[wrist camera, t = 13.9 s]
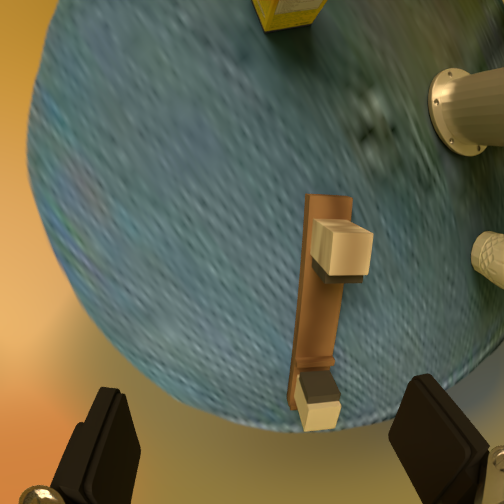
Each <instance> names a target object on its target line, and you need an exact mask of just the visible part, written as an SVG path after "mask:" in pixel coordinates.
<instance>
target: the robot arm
mask: <svg viewBox="0 0 504 504" xmlns="http://www.w3.org/2000/svg"><path fill="white" fill-rule="evenodd" d="M428 106H429V113H430V117H431V121H432V123H433V126H434V128H435V131H436V132H437V134H438V136H439V138H440V139H441V140H442V142H443V143H444V144H445V145H446V146H447V147H448V148H449V149H450V150H452V151H453V152H455V153H456V154H459V155H462V156H475V155H478V154H480V153H481V152H483V151H484V150H485V148H486V147H487V146H504V67H503V68H498V69H493V70H489V71H484V72H480V73H476V74H472V75H470V74H469V73H467V72H466V71H464V70H461V69H457V68H450V69H446V70H444V71H441V72H440V73H438V74H437V75H436V76H435V78H434V79H433V81H432V83H431V85H430V88H429V94H428ZM388 436H389V441H390V443H391V445H392V447H393V449H394V450H395V452H396V454H397V456H398V458H399V460H400V462H401V463H402V465H403V467H404V469H405V471H406V473H407V475H408V476H409V478H410V480H411V482H412V484H413V486H414V487H415V489H416V492H417V494H418V495H419V497H420V499H421V501H422V503H423V504H504V446H497V447H495V448H493V449H492V450H491V452H489V451H488V448H489V447H490V445H489V444H488V443H487V441H486V440H485V439H484V438H483V437H482V435H481V434H480V433H479V431H478V430H477V429H476V428H475V427H474V425H473V424H472V423H471V422H470V420H469V419H468V418H467V417H466V415H465V414H464V413H463V412H462V411H461V409H460V408H459V407H458V406H457V405H456V403H455V402H454V401H453V400H452V399H451V397H450V396H449V395H448V394H447V393H446V392H445V390H444V389H443V388H442V387H441V386H440V385H439V383H438V382H437V381H436V380H435V379H434V378H433V376H432V375H430V374H428V373H427V374H423V375H418V376H414V377H413V378H412V380H411V381H410V382H409V383H408V385H407V388H406V391H405V393H404V396H403V399H402V401H401V404H400V407H399V409H398V412H397V414H396V416H395V419H394V421H393V424H392V426H391V428H390V431H389V434H388ZM140 454H141V449H140V444H139V441H138V438H137V435H136V431H135V428H134V424H133V421H132V417H131V414H130V410H129V406H128V403H127V399H126V396H125V394H121V393H120V390H119V389H116V388H107V387H101V388H100V389H99V391H98V393H97V395H96V398H95V400H94V402H93V404H92V406H91V409H90V411H89V413H88V416H87V418H86V420H85V422H84V423H83V422H79V423H78V424H77V425H76V427H75V429H74V431H73V433H72V436H71V438H70V440H69V442H68V445H67V447H66V449H65V451H64V454H63V456H62V458H61V461H60V463H59V466H58V468H57V470H56V473H55V476H54V478H53V480H52V483H51V485H50V487H48V486H43V485H37V486H32V487H30V488H28V489H26V490H25V491H24V492H23V493H22V494H21V496H20V498H19V504H131V499H132V493H133V488H134V483H135V478H136V474H137V469H138V464H139V459H140Z"/></svg>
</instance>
